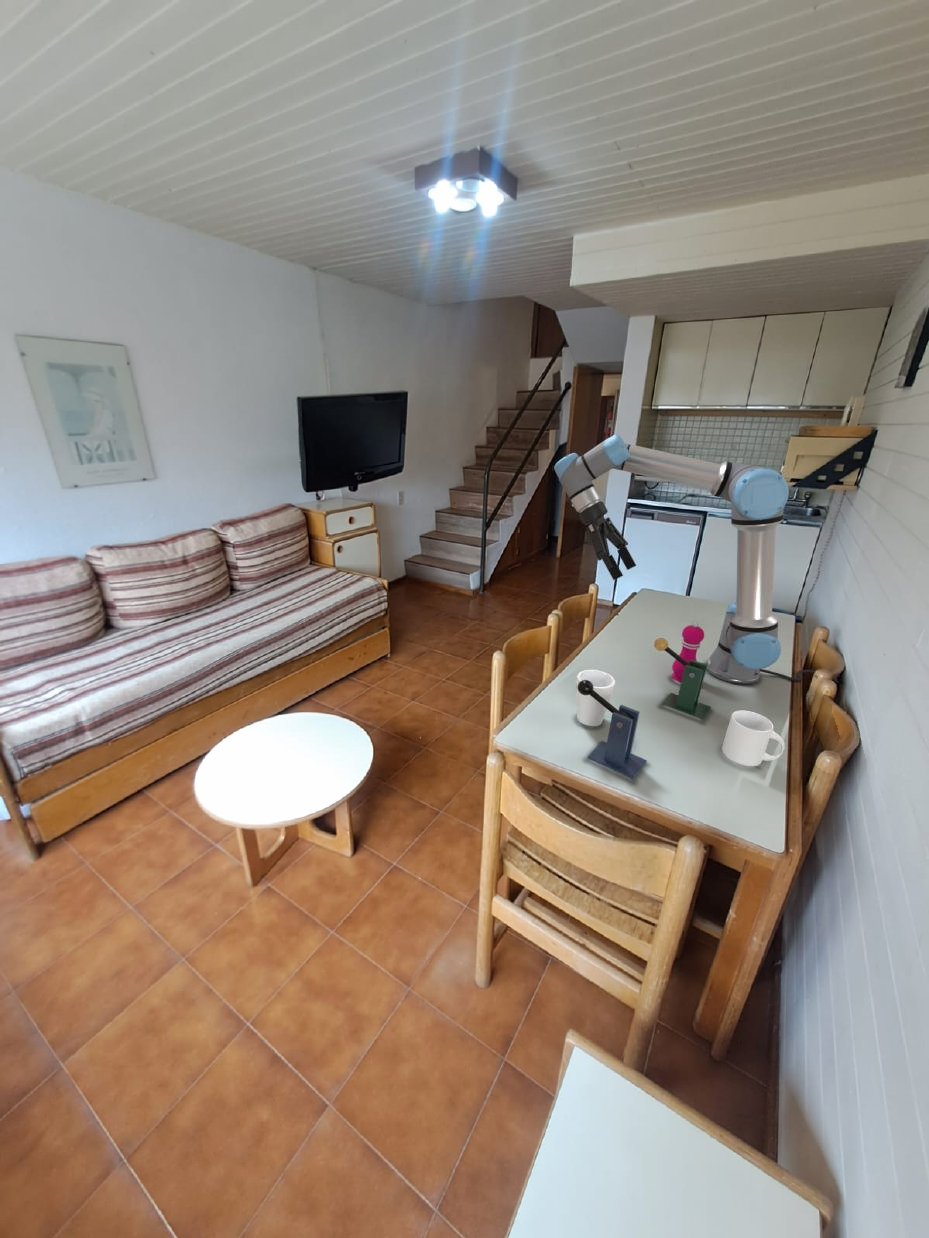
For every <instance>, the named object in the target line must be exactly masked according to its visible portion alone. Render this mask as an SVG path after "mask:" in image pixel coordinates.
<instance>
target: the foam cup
mask: <svg viewBox="0 0 929 1238" xmlns="http://www.w3.org/2000/svg"><path fill="white" fill-rule="evenodd" d="M582 680H588V681H590V682H591V683H592V684H593V687H594V688H593V690H594V691H595V692H596V693H597V694H599V695H600V696H601V697H602V698H604V699H605V700H606V701H607V702H609V703H610V701H611V697H612V695H613V693H614V691H615V687H616V680H615V678H614V677H613V676H612V675H611V674H609V673H608V672H605V671H602V670H599V669H584V670H582V671H578V674H577V675H576V681H575V685H576V719H577V721H578V722H580V723H581V724H583V725H585V726H588V727H598V726H600V725H602V723H603V721H604V718H605V716H606V715H605V714H606V712H607V709H606V708H605V707H604V706H603V705H601V704H600V703H599V702H598V701H597V700H595V699H594V698H593V697H592V696H590V695H582V694H580V693H579V691H578V684H579V682H581V681H582Z"/></svg>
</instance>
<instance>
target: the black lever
mask: <svg viewBox="0 0 929 1238" xmlns="http://www.w3.org/2000/svg"><path fill="white" fill-rule="evenodd" d="M593 688H594V687H593V684H592V683H591V682H590V681H588V680H582V681H581V682H579V684H578V691H579V693H580V694H582V695H590V696H592V697H593V698H594V699H595V700H597V701H598V702H599V703H600V704H601V705H603V706H604V707H605V708H606V710H608V712H610V713H611V714H613V713H614V712H615V713H618V714H620V715H623V716H625V717H628V718H630V719H633V720H634V718H633V717H632V716H631V715H630V714H629V713H627V712H626V711H625V710H624V711H623V712H622V713H621V712H620V711H619V709H618V708H616V707H615V706H614V705H613V704H611V703H610V701H609V702H607V701H606V700H605V699H604V698H602V697H601V696H600V695H599V694H597V693H596V692H595V691H594V690H593Z"/></svg>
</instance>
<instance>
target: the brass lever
mask: <svg viewBox="0 0 929 1238" xmlns="http://www.w3.org/2000/svg"><path fill="white" fill-rule="evenodd" d="M653 646H654V648H655V649H656V650H657V651H659V652H663V651H664V652H666V653H667V654H669V655H670V656H671V657H672V658H674V660H677V661H679V662H680V663H681V664H682V665H684V666H686V665H689V666H692V667H695V668H698V669H701V668H700V667H698V666H697V665H696V664H693V665H690V664H689V663H688V662H687V661H685V660H684V659H683V658H682V657H680V656H679V655H680V654H678V653H676V652H675V651H674V650H673V649H671V647H669V642H668V641H667V639H665V638H663V637H659V638H657V639H655V640H654V642H653ZM701 670H702V669H701Z"/></svg>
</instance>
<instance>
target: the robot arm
mask: <svg viewBox="0 0 929 1238" xmlns="http://www.w3.org/2000/svg"><path fill="white" fill-rule="evenodd" d="M553 468H554V471H555V473H556V476H557V478H558V482H560V484H561V486H562V488H563V490H564V491H565V493H566V494H567V496H568V498H569V500H570V502H571V507H572V508H574V509H575V511H576V512H577V513H579V514H578V517H579V520H580V521H581V523H582V525H584V526H586V525H588V526H586V530H587V532H588V534H589V537H590V539H591V543H592V546H593V549H594V552H595V555H596V558H597V560H598V561H599V562H601V561H602V562H603V563H604V566H605V568H606V570H607V571H608V573H609V574H610V576H611V578H612V581H616V580H617V579H620V578H621V577H624V575H623V572H622V571H621V569H620V567H619V564H618V563H617V561H616V559H615V558H614V556H613V554H610V549H609V544H608V541H609V542H610V543H611V544H612V545H613V546H614V547H615V548H616V552H617V554H618V556H619V557H620V559H621V561H622V563H623V565H624V566H625V568H626V570H627V571H629V570H631V569H632V568H634V567H637V564H636V562H635V560H634V559H633V557H632V555H631V553H630V551H629V549H628V547H627V546H628V545H629V542H628V541H627V540H626V539H625V537H624V536H623V535H622V534H621V533H620V531H619V529H618V528H617V527H616V526H615V524H614V523H613V521H612V520H611V518H610V517H609V516H607V517H606V518H605V517H604V516H605V515H606V514H608V513H609V510H608V508H607V506H606V505H605V503H604V501H601V499H602V496H601V495H600V493H599V491H598V489H597V488H596V486H595V485H594V483H593V481H595V480H596V479H598V478H599V477H602V476H603V475H605V474H606V473H608V472H610V471H611V470H617V471H623V472H626V473H631V474H635V475H640V476H644V477H649V478H652V479H657V480H661V481H665V482H670V483H674V484H678V485H682V486H687V487H691V488H694V489H699V490H703V491H706V492H709V493H710V494H711V496H712V497H716V498H719V499H722V500H725V501H727V502H729V503H730V504H731V505H730V506H731V509H730V510H731V511H730V512H731V514H730V520H731V521H730V523H731V525H732V527H734V528H735V529H737V541H736V542H737V545H736V595H735V597H736V601H735V602H733V603H730V604H729V605H728V606H727V609H726V611H725V615H724V620H723V624H722V627H721V631H720V636H719V640H718V643H717V646H716V648H715V649H714V650H713V652H712V653H711V654H710V656H709V657H708V658H707V660H706V664H707V669H706V672H708V673H709V674H710V675H712V676H713V677H715V678H717V679H718V680H722V681H725V682H727V683H731V684H737V685H752V684H756V683H757V682H759V679H760V676H761V673H764V674H769V675H773V676H777V677H780V678H783V679H785V680H790V681H793V682H800V681H802V680H803V676H802V674H815V673H814V671H815V670H813V669H800V670H798V671H797V676H798V677H791V676H788V675H786V674H782V673H779V672H776V671H772V670H767V669H766V668H768V667H770V666H772V665H773V664H775V663H776V662H777V661H778V660H779V659H780V656H781V654H782V646H781V643H780V641H779V637H778V636H779V635H778V633H779V618H778V616H776V615H775V614H774V613H773V598H774V574H775V550H776V528H777V526H779V525H780V524H781V523H782V522H783V521H784V509H785V506H786V504H787V502H788V501H789V500H788V499H789V495H790V489H789V485H788V483H787V481H786V478H784V476H783V475H782V474H781V473H780V472H779V471H777V470H774V469H773V468H768V467H767V466H763V465H760V464H745V463H736V462H730V461H724V462H721V463H717V462H714V461H713V462H712V461H708V460H703V459H699V458H698V459H697V458H693V457H689V456H686V455H681V454H676V453H671V452H666V451H662V450H657V449H653V448H649V447H644V446H639V445H635V444H629V443H625V442H624V440H623V438H622V437H621V435H620V434H613V435H612V436H610V437H607V438H606V439H605V440H603V441H602V442H600V443H599V444H597V445H596V446H594V447H593V448H592V449H590V450H588V451H587V452H585V453H584V454H582V455H580V456H579V454H577V453H576V452H571V453H569V454H568V455H566V456H563V458H561V459H559V460H558V461H557V462H555V465H554V467H553ZM832 681H833V682H834V681H835V683H839V680H838V679H837V678H836V677H835V678H834V679H833V680H832Z"/></svg>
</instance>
